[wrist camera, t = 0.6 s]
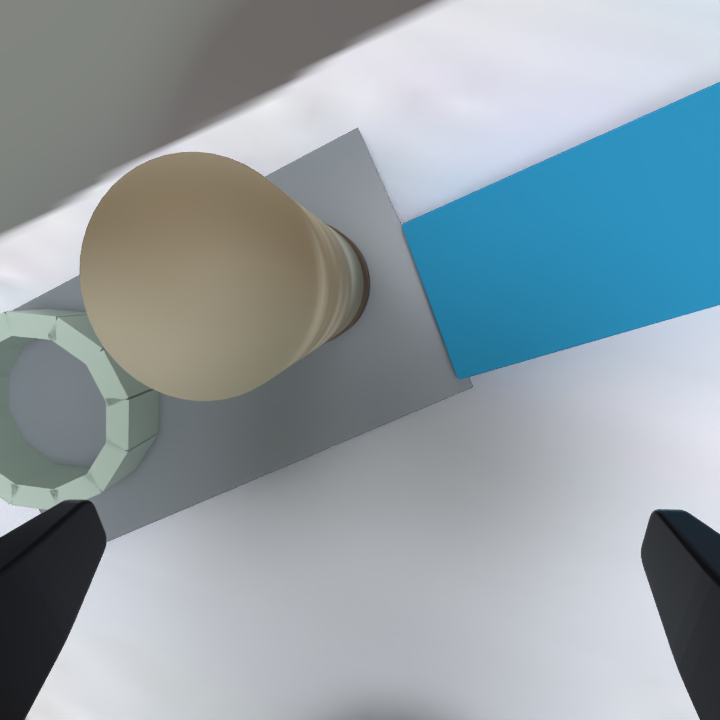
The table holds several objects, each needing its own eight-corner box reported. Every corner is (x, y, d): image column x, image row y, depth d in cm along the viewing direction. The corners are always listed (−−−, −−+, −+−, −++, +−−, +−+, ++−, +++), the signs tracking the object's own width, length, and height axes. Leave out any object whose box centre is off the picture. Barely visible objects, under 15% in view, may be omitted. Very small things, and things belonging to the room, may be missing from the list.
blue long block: (479, 345, 27) (910, 210, 20) (458, 379, 21) (1086, 199, 13) (436, 226, 26) (868, 40, 19) (401, 224, 20) (1030, -58, 12)
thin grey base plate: (360, 136, 21) (350, 105, 18) (469, 381, 22) (481, 399, 19) (-31, 342, 25) (-107, 351, 21) (82, 546, 26) (28, 589, 22)
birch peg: (366, 345, 21) (315, 416, 10) (256, 336, 22) (78, 395, 10) (374, 228, 21) (328, 151, 9) (259, 222, 21) (71, 141, 9)
